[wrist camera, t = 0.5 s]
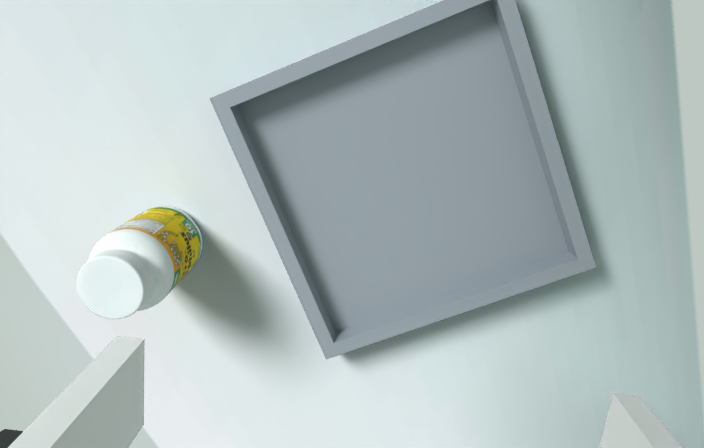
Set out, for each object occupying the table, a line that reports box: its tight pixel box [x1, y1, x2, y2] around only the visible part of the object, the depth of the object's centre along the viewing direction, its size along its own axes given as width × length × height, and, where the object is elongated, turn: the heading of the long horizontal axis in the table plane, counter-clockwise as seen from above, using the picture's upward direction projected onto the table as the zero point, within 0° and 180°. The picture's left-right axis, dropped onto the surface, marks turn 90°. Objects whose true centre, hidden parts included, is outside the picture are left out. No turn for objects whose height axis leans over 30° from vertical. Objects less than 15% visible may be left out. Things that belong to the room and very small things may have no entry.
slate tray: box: [210, 0, 596, 359], centre depth 38 cm, size 20×20×2 cm
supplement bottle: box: [77, 206, 203, 319], centre depth 37 cm, size 5×5×10 cm
